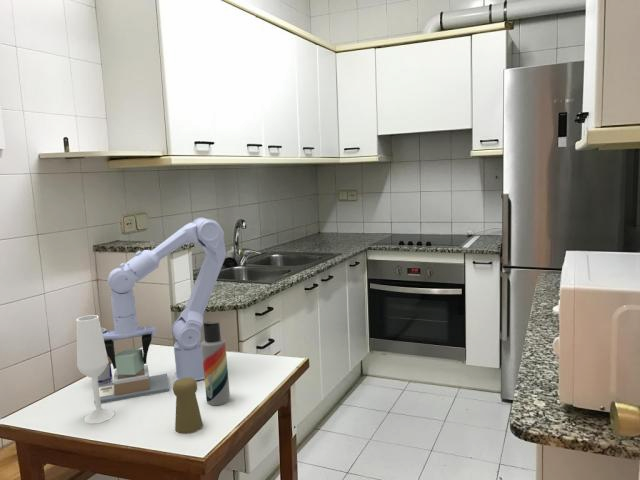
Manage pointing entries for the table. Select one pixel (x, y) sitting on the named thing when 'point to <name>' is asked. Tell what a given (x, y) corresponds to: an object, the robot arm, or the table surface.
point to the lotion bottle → (215, 365)
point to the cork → (186, 406)
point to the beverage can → (107, 373)
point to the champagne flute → (92, 360)
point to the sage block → (129, 362)
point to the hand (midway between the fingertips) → (130, 365)
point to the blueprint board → (154, 388)
